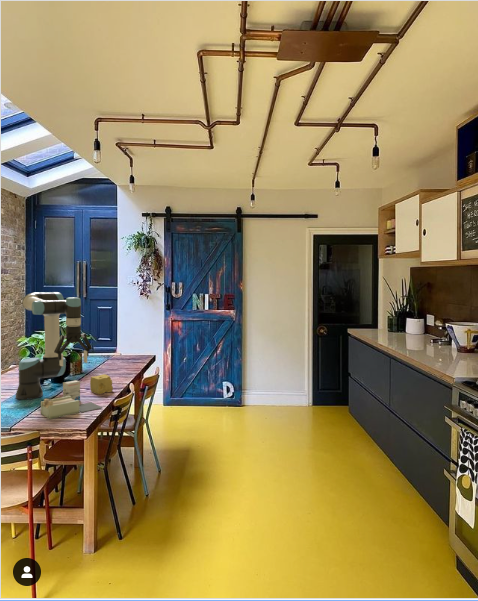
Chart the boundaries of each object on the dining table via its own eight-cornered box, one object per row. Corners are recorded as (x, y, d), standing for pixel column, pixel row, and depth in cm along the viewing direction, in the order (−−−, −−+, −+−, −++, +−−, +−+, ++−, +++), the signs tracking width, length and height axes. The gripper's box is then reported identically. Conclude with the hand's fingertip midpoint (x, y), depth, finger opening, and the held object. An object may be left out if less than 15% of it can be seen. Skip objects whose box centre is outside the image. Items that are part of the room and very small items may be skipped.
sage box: (40, 413, 226) (40, 401, 226) (70, 407, 237) (70, 395, 237) (49, 419, 217) (49, 406, 217) (79, 412, 229) (79, 400, 228)
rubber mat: (71, 406, 239) (71, 406, 239) (91, 402, 247) (91, 402, 247) (81, 412, 229) (81, 411, 229) (102, 408, 237) (102, 407, 237)
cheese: (112, 391, 272) (112, 376, 272) (97, 394, 264) (97, 379, 264) (104, 388, 279) (104, 373, 279) (89, 391, 271) (89, 376, 271)
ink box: (76, 398, 255) (76, 379, 254) (80, 400, 252) (80, 381, 251) (62, 401, 248) (62, 382, 248) (66, 403, 245) (66, 383, 244)
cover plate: (42, 405, 225) (42, 398, 225) (70, 400, 236) (70, 393, 235) (49, 409, 219) (49, 402, 218) (77, 403, 229) (77, 397, 229)
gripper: (53, 328, 215) (53, 368, 217) (98, 324, 234) (98, 362, 235) (47, 326, 221) (47, 366, 222) (91, 323, 239) (91, 360, 240)
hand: (73, 364), depth 228 cm, fingers open, 13 cm apart
